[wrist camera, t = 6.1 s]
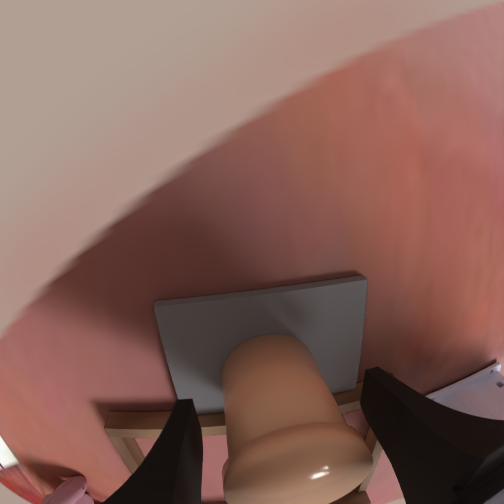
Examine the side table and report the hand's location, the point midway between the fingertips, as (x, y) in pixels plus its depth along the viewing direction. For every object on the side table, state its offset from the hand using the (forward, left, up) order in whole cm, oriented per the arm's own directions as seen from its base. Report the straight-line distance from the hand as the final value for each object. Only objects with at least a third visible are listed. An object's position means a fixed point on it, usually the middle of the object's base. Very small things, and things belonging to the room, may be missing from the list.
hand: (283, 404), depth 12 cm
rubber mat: (0, 0, -4) cm, 4 cm away
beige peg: (0, +1, -3) cm, 4 cm away
